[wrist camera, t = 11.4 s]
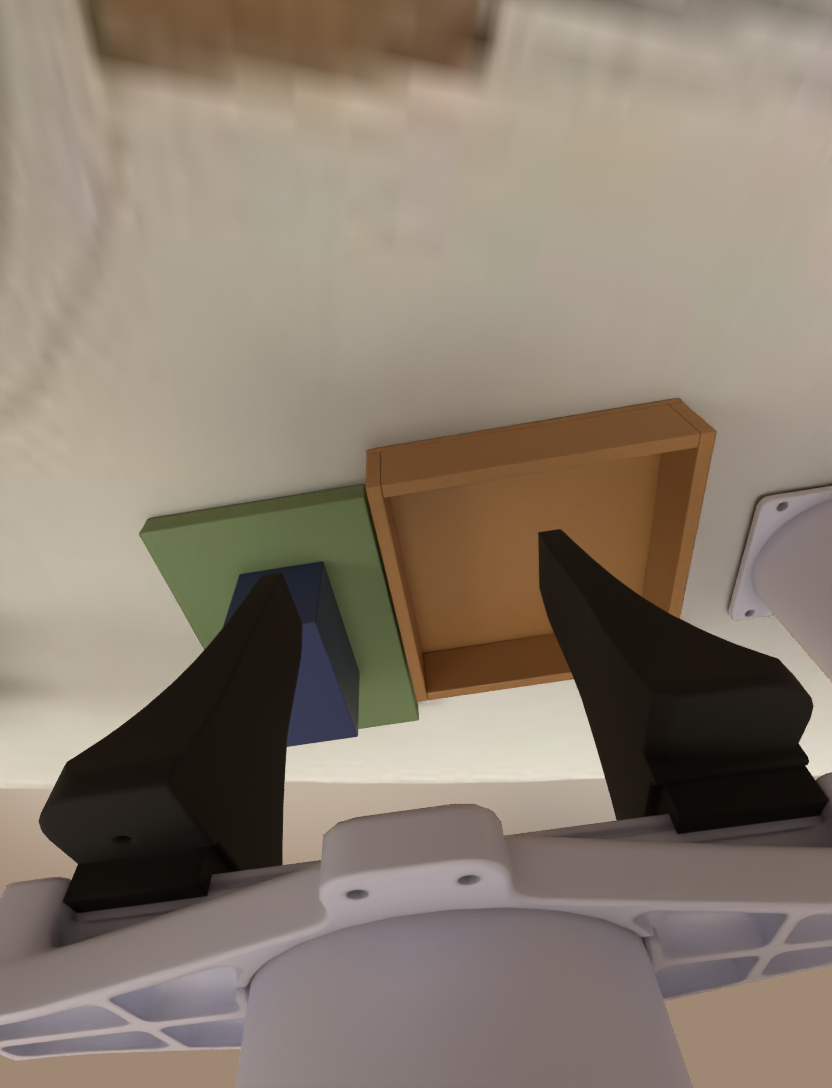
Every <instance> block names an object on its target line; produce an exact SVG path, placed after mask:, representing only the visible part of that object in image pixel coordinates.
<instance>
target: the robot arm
mask: <svg viewBox="0 0 832 1088" xmlns="http://www.w3.org/2000/svg"><path fill="white" fill-rule="evenodd" d="M780 503H782V504H781V505H779V504H780ZM778 505H779V506H778ZM538 549H539V589H540V592H541V596H542V600H543V603H544V607H545V610H546V613H547V617H548V620H549V622H550V625H551V627H552V629H553V632H554V634H555V636H556V639H557V641H558V643H559V646H560V648H561V650H562V653H563V655H564V657H565V660H566V662H567V664H568V666H569V669H570V671H571V673H572V676H573V678H574V680H575V683H576V685H577V688H578V690H579V693H580V696H581V698H582V702H583V705H584V708H585V711H586V714H587V718H588V721H589V724H590V727H591V731H592V734H593V737H594V741H595V744H596V747H597V751H598V754H599V758H600V761H601V765H602V768H603V772H604V775H605V779H606V782H607V785H608V790H609V793H610V797H611V800H612V804H613V808H614V812H615V815H616V819H617V821H611V822H604V823H596V824H588V825H581V826H574V827H566V828H558V829H551V830H543V831H536V832H528V833H521V834H514V835H503V829H502V824H501V821H500V820H499V818H498V817H497V816H496V814H495V813H494V812H493V811H491V810H490V809H487V808H484V807H481V806H478V805H475V804H450V805H442V806H435V807H428V808H421V809H413V810H406V811H398V812H391V813H384V814H377V815H370V816H362V817H356V818H352V819H349V820H346V821H342V822H338V823H337V824H336V825H335V826H334V827H332V828H331V829H330V830H329V831H328V832H326V834H324V835H323V845H322V858H321V859H322V860H319V861H312V862H304V863H296V864H289V865H282V840H283V800H284V781H285V764H286V749H287V737H288V730H289V723H290V718H291V712H292V707H293V701H294V695H295V690H296V684H297V679H298V673H299V667H300V661H301V653H302V627H303V624H302V621H301V619H300V616H299V613H298V611H297V608H296V606H295V603H294V601H293V598H292V596H291V593H290V590H289V588H288V585H287V583H286V580H285V578H284V575H283V573H276V574H269V575H263V576H261V577H260V578H259V580H258V581H257V582H256V584H255V585H254V586H253V588H252V589H251V590H250V592H249V593H248V595H247V596H246V597H245V599H244V600H243V602H242V603H241V604H240V606H239V607H238V608H237V610H236V611H235V612H234V614H233V615H232V616H231V618H230V619H229V620H228V622H227V623H226V624H225V626H224V627H223V628H222V630H221V631H220V632H219V633H218V634H217V636H216V637H215V638H214V639H213V640H212V642H211V643H210V644H209V645H208V646H207V647H206V649H205V650H204V651H203V652H202V653H201V655H200V656H199V657H198V658H197V659H196V660H195V661H194V662H193V663H192V664H191V665H190V666H189V667H188V668H187V669H186V670H185V671H184V672H183V673H182V674H181V675H180V676H179V677H178V678H177V679H176V680H175V681H174V682H173V683H172V684H171V685H170V686H169V687H168V688H166V689H165V690H164V691H163V692H162V693H161V694H160V695H158V696H157V697H156V698H155V699H154V700H153V701H152V702H150V703H149V704H148V705H147V706H146V707H145V708H143V709H142V710H141V711H140V712H138V713H137V714H136V715H135V716H133V717H132V718H131V719H129V720H128V721H127V722H125V723H124V724H123V725H121V726H120V727H119V728H117V729H116V730H115V731H113V732H112V733H110V734H109V735H108V736H106V737H105V738H103V739H102V740H100V741H99V742H97V743H96V744H94V745H93V746H91V747H90V748H88V749H87V750H85V751H83V752H82V753H80V754H79V755H77V756H76V757H74V758H73V759H71V760H69V761H68V762H67V763H66V765H65V766H64V768H63V770H62V772H61V774H60V776H59V778H58V780H57V782H56V784H55V786H54V788H53V790H52V792H51V794H50V796H49V798H48V800H47V802H46V804H45V806H44V808H43V810H42V812H41V815H40V818H39V824H40V827H41V830H42V832H43V833H44V834H45V835H46V837H47V838H48V839H49V840H50V841H52V842H53V843H54V844H55V845H56V846H57V847H59V848H60V849H61V850H62V851H63V852H64V853H66V854H67V855H68V856H69V857H71V858H72V859H73V860H74V861H75V862H76V863H78V866H77V868H76V871H75V873H74V875H73V878H72V880H70V879H67V878H62V877H51V878H43V879H36V880H29V881H21V882H14V883H10V884H9V885H7V886H6V888H5V890H4V892H3V894H2V896H1V898H0V1055H2V1056H5V1057H8V1058H10V1059H13V1060H17V1061H18V1060H27V1059H37V1058H47V1057H56V1056H68V1055H81V1054H94V1053H95V1054H96V1053H115V1052H137V1051H138V1052H139V1051H140V1052H141V1051H176V1050H208V1049H209V1050H212V1049H241V1052H240V1059H239V1066H238V1073H237V1079H236V1086H235V1088H693V1086H692V1083H691V1080H690V1077H689V1074H688V1072H687V1069H686V1066H685V1062H684V1060H683V1057H682V1054H681V1051H680V1048H679V1045H678V1042H677V1039H676V1036H675V1033H674V1030H673V1027H672V1024H671V1021H670V1018H669V1015H668V1012H667V1009H666V1006H665V1003H664V1001H666V1000H670V999H675V998H680V997H685V996H690V995H694V994H699V993H703V992H708V991H713V990H718V989H722V988H727V987H731V986H737V985H741V984H746V983H750V982H755V981H760V980H764V979H769V978H774V977H778V976H783V975H788V974H792V973H797V972H802V971H807V970H812V969H817V968H822V967H827V966H832V772H831V773H827V774H825V775H823V776H821V777H819V778H818V779H817V780H814V778H813V776H812V775H811V773H810V772H809V771H808V769H807V768H806V766H805V765H808V763H809V759H808V756H807V755H806V754H805V752H804V751H803V749H802V748H801V746H800V745H799V744H798V743H799V741H800V739H801V737H802V735H803V733H804V731H805V728H806V726H807V724H808V722H809V720H810V717H811V714H812V710H813V703H812V699H811V697H810V695H809V694H808V693H807V692H806V690H805V689H804V688H803V686H802V685H801V684H800V682H799V681H798V680H797V679H796V677H795V676H794V675H793V674H792V673H791V672H790V671H789V670H788V669H787V668H786V666H785V665H784V664H783V663H782V662H781V661H780V660H779V659H777V658H774V657H771V656H768V655H765V654H762V653H760V652H757V651H754V650H751V649H748V648H745V647H742V646H739V645H737V644H734V643H732V642H729V641H727V640H724V639H722V638H719V637H717V636H715V635H712V634H710V633H708V632H706V631H703V630H701V629H699V628H697V627H695V626H693V625H691V624H689V623H687V622H685V621H683V620H681V619H679V618H677V617H675V616H673V615H671V614H670V613H668V612H666V611H664V610H663V609H661V608H659V607H658V606H656V605H654V604H653V603H651V602H649V601H648V600H646V599H645V598H643V597H641V596H640V595H639V594H637V593H636V592H634V591H633V590H631V589H630V588H629V587H627V586H626V585H625V584H623V583H622V582H621V581H619V580H618V579H617V578H616V577H614V576H613V575H612V574H611V573H609V572H608V571H607V570H606V569H605V568H603V567H602V566H601V565H600V564H599V563H597V562H596V561H595V560H594V559H593V558H592V557H590V556H589V555H588V554H587V553H586V552H585V551H584V550H583V549H582V548H581V547H580V546H578V545H577V544H576V543H575V542H574V541H573V540H572V539H571V538H570V537H569V536H568V535H567V534H566V533H565V532H564V531H562V530H561V529H556V530H550V531H544V532H538ZM728 614H729V616H730V617H731V618H732V619H733V620H744V619H751V618H758V617H765V616H771V615H775V616H776V617H777V618H778V619H779V621H780V622H781V623H782V624H783V625H784V626H785V628H786V629H787V630H788V631H789V632H790V634H791V635H792V636H793V637H794V638H795V640H796V641H797V642H798V643H799V644H800V645H801V647H802V648H803V649H804V650H805V651H806V653H807V654H808V655H809V656H810V657H811V659H812V660H813V661H814V662H815V663H816V664H817V666H818V667H819V668H820V669H821V670H822V672H823V673H824V674H825V675H826V676H827V678H828V679H829V680H830V681H831V682H832V486H828V487H822V488H815V489H809V490H802V491H796V492H790V493H783V494H777V495H771V496H767V497H764V498H763V499H761V500H760V501H759V502H758V504H757V506H756V510H755V514H754V517H753V521H752V525H751V528H750V532H749V536H748V540H747V543H746V547H745V551H744V554H743V558H742V562H741V565H740V569H739V573H738V577H737V580H736V584H735V588H734V591H733V595H732V599H731V602H730V606H729V610H728Z"/></svg>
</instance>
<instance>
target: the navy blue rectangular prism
mask: <svg viewBox="0 0 832 1088" xmlns="http://www.w3.org/2000/svg"><path fill="white" fill-rule="evenodd" d="M276 573H283V575H284V578H285V580H286V583H287V585H288V588H289V590H290V593H291V596H292V598H293V601H294V603H295V606H296V608H297V611H298V613H299V616H300V619H301V621H302V624H303V627H302V653H301V661H300V667H299V673H298V679H297V684H296V690H295V695H294V701H293V707H292V712H291V718H290V723H289V730H288V737H287V747H289V746H296V745H303V744H310V743H317V742H324V741H331V740H338V739H345V738H352V737H357V736H358V716H359V683H360V672H359V669H358V666H357V663H356V660H355V657H354V654H353V651H352V648H351V645H350V642H349V639H348V636H347V632H346V629H345V626H344V623H343V620H342V617H341V614H340V611H339V608H338V605H337V602H336V599H335V596H334V593H333V590H332V587H331V584H330V580H329V577H328V574H327V571H326V568H325V565H324V562H323V561H321V562H315V563H308V564H302V565H296V566H289V567H283V568H277V569H270V570H264V571H258V572H251V573H245V574H240V575H239V577H238V580H237V583H236V587H235V590H234V593H233V596H232V599H231V602H230V606H229V609H228V612H227V615H226V618H225V621H224V625H223V627H224V626H225V624H226V623H227V622H228V620H229V619H230V618H231V616H232V615H233V614H234V612H235V611H236V610H237V608H238V607H239V606H240V604H241V603H242V602H243V600H244V599H245V597H246V596H247V595H248V593H249V592H250V590H251V589H252V588H253V586H254V585H255V584H256V582H257V581H258V580H259V578H260V577H261V576H263V575H269V574H276Z"/></svg>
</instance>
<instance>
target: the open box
mask: <svg viewBox="0 0 832 1088" xmlns="http://www.w3.org/2000/svg"><path fill="white" fill-rule="evenodd" d="M715 437H716V430H715V429H714V428H713V427H711V426H710V425H709V424H708V423H707V422H706V421H704V420H703V419H702V418H701V417H700V416H699V415H697V414H696V413H695V412H694V411H693V410H691V409H690V408H689V407H688V406H687V405H686V404H684V403H683V402H682V401H681V400H680V399H678V398H677V399H671V400H665V401H659V402H653V403H647V404H641V405H635V406H629V407H623V408H617V409H611V410H605V411H599V412H593V413H587V414H581V415H575V416H569V417H562V418H556V419H550V420H544V421H538V422H532V423H526V424H520V425H514V426H508V427H502V428H496V429H490V430H484V431H478V432H472V433H466V434H460V435H454V436H448V437H442V438H436V439H429V440H423V441H417V442H411V443H405V444H399V445H393V446H387V447H381V448H375V449H369V450H367V458H366V492H367V496H368V501H369V505H370V509H371V513H372V517H373V521H374V525H375V530H376V534H377V538H378V542H379V546H380V550H381V554H382V559H383V563H384V567H385V571H386V575H387V579H388V584H389V588H390V592H391V596H392V600H393V604H394V608H395V613H396V617H397V621H398V625H399V629H400V633H401V637H402V642H403V646H404V650H405V654H406V658H407V662H408V666H409V671H410V675H411V679H412V683H413V687H414V691H415V695H416V700H417V701H418V702H419V701H426V700H428V699H429V700H433V699H440V698H447V697H453V696H460V695H467V694H474V693H481V692H488V691H495V690H502V689H509V688H516V687H522V686H529V685H536V684H543V683H550V682H557V681H564V680H571V679H574V678H573V676H572V673H571V671H570V669H569V666H568V664H567V662H566V660H565V657H564V655H563V653H562V650H561V648H560V646H559V643H558V641H557V639H556V636H555V634H554V632H553V629H552V627H551V625H550V622H549V620H548V617H547V613H546V610H545V607H544V603H543V600H542V596H541V592H540V589H539V549H538V532H544V531H550V530H556V529H561V530H562V531H564V532H565V533H566V534H567V535H568V536H569V537H570V538H571V539H572V540H573V541H574V542H575V543H576V544H577V545H578V546H580V547H581V548H582V549H583V550H584V551H585V552H586V553H587V554H588V555H589V556H590V557H592V558H593V559H594V560H595V561H596V562H597V563H599V564H600V565H601V566H602V567H603V568H605V569H606V570H607V571H608V572H609V573H611V574H612V575H613V576H614V577H616V578H617V579H618V580H619V581H621V582H622V583H623V584H625V585H626V586H627V587H629V588H630V589H631V590H633V591H634V592H636V593H637V594H639V595H640V596H641V597H643V598H645V599H646V600H648V601H649V602H651V603H653V604H654V605H656V606H658V607H659V608H661V609H663V610H664V611H666V612H668V613H670V614H671V615H673V616H675V617H677V618H679V619H680V614H681V609H682V604H683V599H684V594H685V589H686V584H687V579H688V574H689V569H690V564H691V559H692V554H693V549H694V544H695V539H696V533H697V528H698V523H699V518H700V513H701V508H702V503H703V498H704V493H705V488H706V483H707V478H708V473H709V468H710V463H711V458H712V453H713V448H714V443H715Z"/></svg>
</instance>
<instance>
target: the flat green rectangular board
mask: <svg viewBox="0 0 832 1088" xmlns="http://www.w3.org/2000/svg"><path fill="white" fill-rule="evenodd" d="M139 535H140V537H141V539H142V541H143V542H144V544H145V546H146V548H147V549H148V551H149V553H150V555H151V556H152V558H153V560H154V562H155V563H156V565H157V567H158V569H159V570H160V572H161V574H162V576H163V578H164V579H165V581H166V583H167V585H168V586H169V588H170V590H171V592H172V593H173V595H174V597H175V599H176V600H177V602H178V604H179V606H180V607H181V609H182V611H183V613H184V615H185V616H186V618H187V620H188V622H189V623H190V625H191V627H192V629H193V630H194V632H195V634H196V636H197V637H198V639H199V641H200V643H201V644H202V646H203V648H204V650H205V649H206V647H207V646H208V645H209V644H210V643H211V642H212V640H213V639H214V638H215V637H216V636H217V634H218V633H219V632H220V631H221V630H222V628H223V625H224V621H225V618H226V615H227V612H228V609H229V606H230V602H231V599H232V596H233V593H234V590H235V587H236V583H237V580H238V577H239V575H240V574H245V573H251V572H258V571H264V570H270V569H277V568H283V567H289V566H296V565H302V564H308V563H315V562H321V561H323V562H324V565H325V568H326V571H327V574H328V577H329V580H330V584H331V587H332V590H333V593H334V596H335V599H336V602H337V605H338V608H339V611H340V614H341V617H342V620H343V623H344V626H345V629H346V632H347V636H348V639H349V642H350V645H351V648H352V651H353V654H354V657H355V660H356V663H357V666H358V669H359V672H360V683H359V716H358V729H361V728H368V727H375V726H382V725H389V724H396V723H403V722H409V721H416V720H419V713H418V703H417V700H416V695H415V691H414V687H413V683H412V679H411V675H410V671H409V666H408V662H407V658H406V654H405V650H404V646H403V642H402V637H401V633H400V629H399V625H398V621H397V617H396V613H395V608H394V604H393V600H392V596H391V592H390V588H389V584H388V579H387V575H386V571H385V567H384V563H383V559H382V554H381V550H380V546H379V542H378V538H377V534H376V530H375V525H374V521H373V517H372V513H371V509H370V505H369V501H368V496H367V492H366V487H365V485H364V484H362V485H356V486H349V487H343V488H337V489H331V490H325V491H319V492H313V493H306V494H300V495H294V496H288V497H282V498H276V499H270V500H263V501H257V502H251V503H245V504H239V505H233V506H227V507H220V508H214V509H208V510H202V511H196V512H190V513H184V514H177V515H171V516H165V517H159V518H153V519H148V520H147V521H146V523H145V525H144V526H143V528H142V530H141V531H140V533H139Z"/></svg>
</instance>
